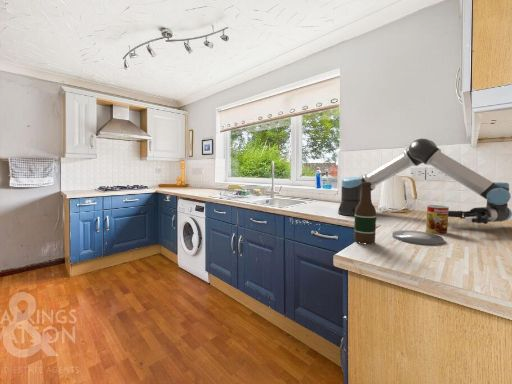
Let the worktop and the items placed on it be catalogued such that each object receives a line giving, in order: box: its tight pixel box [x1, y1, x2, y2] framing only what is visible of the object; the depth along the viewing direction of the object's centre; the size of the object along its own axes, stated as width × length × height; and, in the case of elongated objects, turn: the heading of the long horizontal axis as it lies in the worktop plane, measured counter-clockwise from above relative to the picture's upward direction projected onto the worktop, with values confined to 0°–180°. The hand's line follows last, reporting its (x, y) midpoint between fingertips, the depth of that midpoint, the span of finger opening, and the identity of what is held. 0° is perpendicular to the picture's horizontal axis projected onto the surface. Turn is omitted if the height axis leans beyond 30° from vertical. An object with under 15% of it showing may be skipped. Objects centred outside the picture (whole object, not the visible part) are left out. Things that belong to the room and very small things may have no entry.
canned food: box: [425, 204, 450, 235], centre depth 114 cm, size 8×8×12 cm
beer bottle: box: [353, 182, 377, 245], centre depth 99 cm, size 8×8×24 cm
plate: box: [392, 229, 445, 246], centre depth 104 cm, size 18×18×1 cm
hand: (449, 217), depth 115 cm, fingers open, 13 cm apart
